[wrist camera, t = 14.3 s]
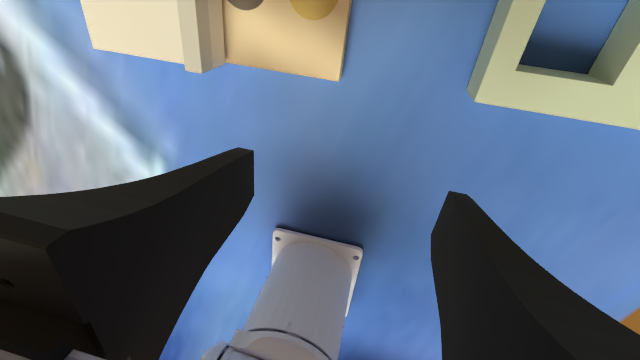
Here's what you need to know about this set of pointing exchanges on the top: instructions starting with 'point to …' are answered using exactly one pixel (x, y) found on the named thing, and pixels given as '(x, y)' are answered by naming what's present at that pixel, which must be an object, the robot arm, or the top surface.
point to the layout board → (287, 35)
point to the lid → (159, 30)
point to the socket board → (555, 85)
